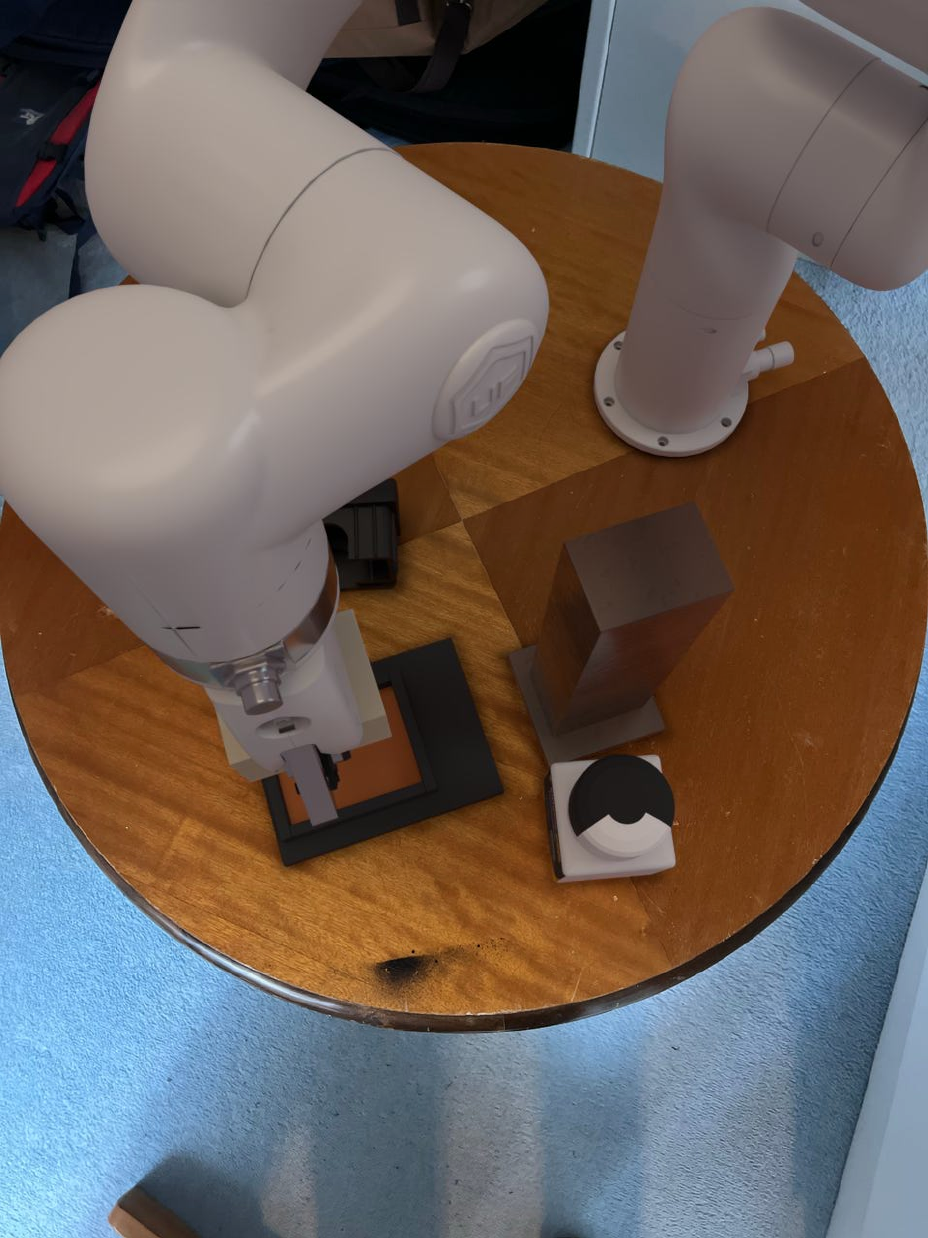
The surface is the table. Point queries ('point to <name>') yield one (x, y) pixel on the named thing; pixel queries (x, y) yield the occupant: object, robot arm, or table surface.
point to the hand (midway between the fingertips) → (304, 703)
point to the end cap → (366, 538)
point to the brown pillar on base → (618, 631)
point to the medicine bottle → (609, 818)
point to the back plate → (398, 760)
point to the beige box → (361, 686)
